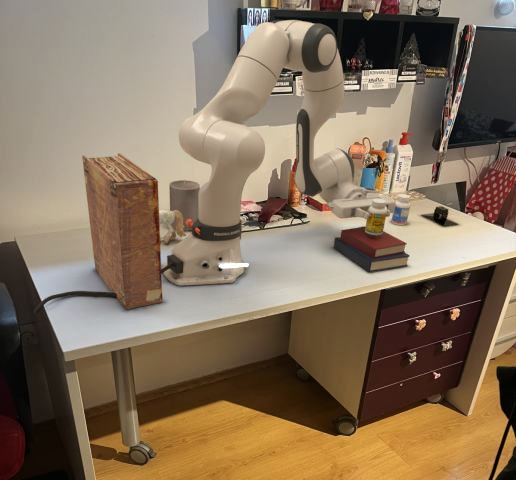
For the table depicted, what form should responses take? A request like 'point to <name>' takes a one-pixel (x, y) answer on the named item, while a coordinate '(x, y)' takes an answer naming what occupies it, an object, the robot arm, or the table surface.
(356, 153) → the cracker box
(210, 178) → the robot arm
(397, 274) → the table surface
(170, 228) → the unicorn figurine
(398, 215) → the pill bottle
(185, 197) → the pillar candle
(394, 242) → the book stack
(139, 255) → the book
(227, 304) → the table surface
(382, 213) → the supplement bottle
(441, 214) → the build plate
